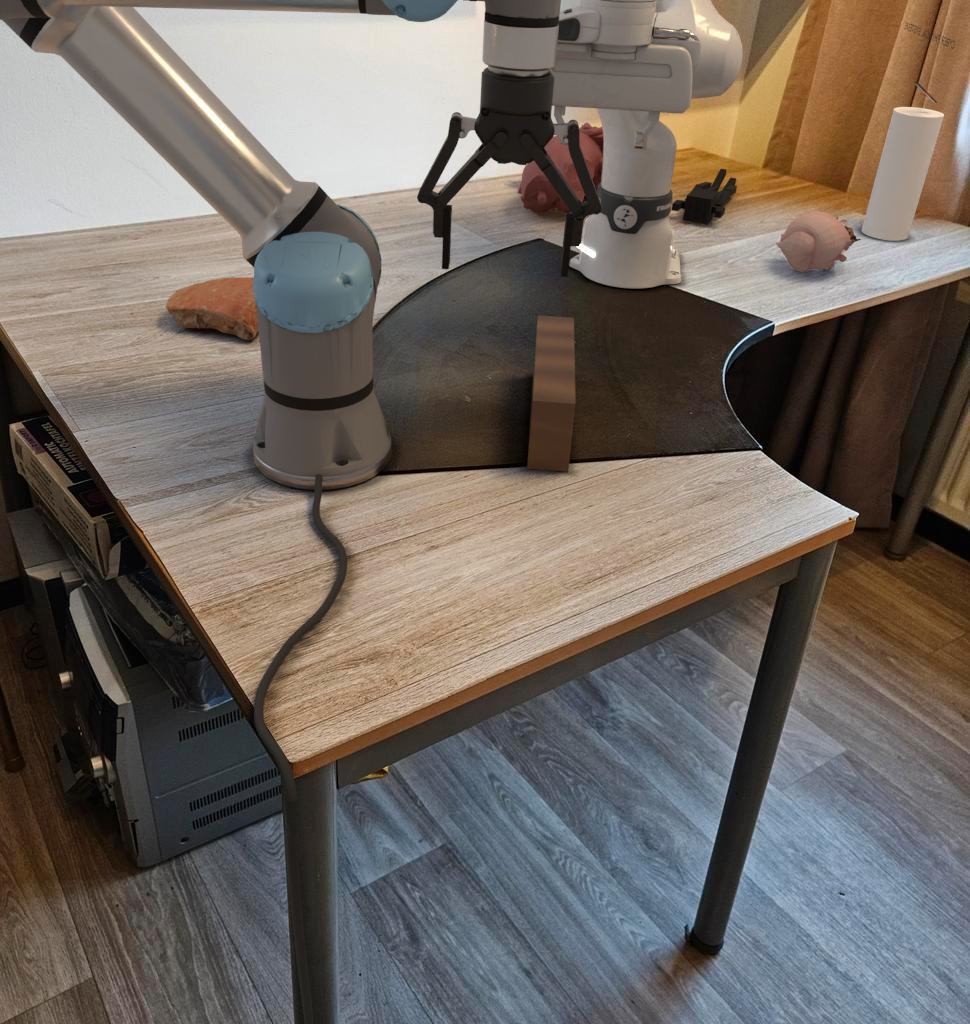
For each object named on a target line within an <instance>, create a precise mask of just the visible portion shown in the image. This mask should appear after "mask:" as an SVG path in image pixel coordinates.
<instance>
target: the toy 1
mask: <svg viewBox="0 0 970 1024" xmlns="http://www.w3.org/2000/svg"><path fill="white" fill-rule="evenodd" d="M727 171H728V170H727V169H726V168H720V169H719V171H718V173H717V175H716V177H715V178H714V180H713V182H710V181H704V182H700V183H697V184H695V185H694V187H693V188H692V190H691V191H690V192H688V193H687V195H686V197H685V198H684V200H683V199H676V200H674V201H673V202H672V205H671V211H673V212H680V210H683V216H682V221H683V222H687V223H693V224H699V225H706V226H707V225H709V223H711V221H712V220H713V218H716V219H722V217H723V216H724V215H725V212H726V204H727V203H728V201H729V199H730V198H731V197H732V196H734V195H735V194H736V193H737V188H738V185H736V182H737V177H732V176H731V177H730V178H729V179H728V180H727V182H726V183H725V185H724V187H723V188H722V190H719V189H720V188H721V186H722V184H723V181H724V180H725V178H726V176H727Z"/></svg>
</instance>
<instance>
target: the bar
mask: <svg viewBox="0 0 970 1024" xmlns="http://www.w3.org/2000/svg"><path fill="white" fill-rule="evenodd" d="M534 345H535V346H534V358H533V370H532V371H533V372H532V384H531V385H532V387H531V399H530V402H531V403H530V417H529V433H528V450H527V463H526V464H527V465H526V466H527V467H526V469H527V470H537V471H538V470H539V471H549V472H550V471H551V472H564V473H568V472H569V467H570V459H571V451H572V450H571V449H572V443H573V442H572V441H573V433H574V432H573V431H574V423H575V414H576V405H577V401H576V399H577V398H576V360H575V359H576V358H575V357H576V351H575V350H576V349H575V318H574V317H566V316H552V315H537V321H536V332H535V344H534Z"/></svg>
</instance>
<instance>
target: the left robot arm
mask: <svg viewBox="0 0 970 1024" xmlns="http://www.w3.org/2000/svg"><path fill="white" fill-rule="evenodd" d="M465 1H469V2H484V9H485V10H484V20H483V36H482V58H481V59H482V62H483V64H484V65H486V66H487V67H485V68H484V69H483V70H482V71H481V79H480V82H481V83H480V99H479V101H480V102H479V113H478V116H477V117H476V118H474V117H469V116H464V115H462V113H460V112H458V111H455V112H453V113H452V114H451V117H450V120H449V124H448V132H447V136H446V138H445V140H444V141H443V144H442V146H441V148H440V149H439V152H438V153H437V155H436V156H435V159H434V161H433V163H432V165H431V167H430V168H429V170H428V173H427V174H426V176H425V178H424V180H423V182H422V184H421V186H420V188H419V190H418V193H417V197H416V199H417V202H418V203H420V204H425V205H428V206H430V207H431V209H432V212H433V215H432V217H433V218H432V234H433V237H434V238H435V239H437V238H439V239H442V248H441V249H442V250H441V251H442V252H441V257H442V258H441V269H442V270H449V269H450V264H451V245H452V243H451V242H452V213H453V205H452V204H450V202H451V200H452V199H454V197H456V195H457V194H458V193H459V192H460V191H461V190H462V189H463V187H465V185H467V183H468V182H469V181H470V180H471V179H472V178H473V177H474V176H475V175H476V173H478V172H479V170H480V169H482V167H484V166H485V165H486V164H487V163H488V162H489V160H490V159H492V160H493V161H495V162H496V163H497V164H502V165H506V164H512V163H513V164H516V165H519V166H526V165H527V164H528V163H531V162H532V161H535V163H536V164H537V166H538V167H539V168H540V170H541V171H542V172H543V173H544V174H545V176H546V177H547V179H548V180H549V181H550V183H551V184H552V186H553V187H554V189H555V190H556V191H557V193H558V194H559V196H560V197H561V199H562V200H563V201H564V203H565V204H566V206H567V207H568V209H569V210H570V211H571V212H570V213H565V217H564V227H563V238H562V248H561V259H560V268H559V271H560V278H568V276H569V267H570V266H569V264H570V260H571V258H570V257H571V248H572V247H575V248H577V247H579V246H580V244H582V237H583V230H584V223H585V220H586V218H588V217H589V216H590V215H592V214H595V215H597V214H599V213H600V212H601V210H602V208H601V203H600V199H599V197H598V194H597V191H596V188H595V186H594V183H593V180H592V177H591V174H590V172H589V169H588V166H587V163H586V161H585V158H584V155H583V152H582V150H581V147H580V134H579V128H580V125H579V122H578V121H577V120H576V119H570V120H569V121H568V122H565V123H554V122H553V120H552V108H553V106H552V99H553V87H554V76H553V74H552V73H551V72H550V71H549V70H550V69H552V68H553V67H554V66H555V65H556V53H557V42H558V31H559V15H560V12H561V3H562V0H464V2H465ZM457 2H458V0H0V21H2V22H4V23H5V25H6V26H7V27H8V28H9V29H10V30H11V31H12V32H14V34H15V35H16V36H17V37H19V38H20V39H21V40H22V41H23V43H25V44H26V45H27V47H29V48H30V49H31V50H32V51H33V52H35V53H41V54H52V55H56V56H58V57H61V58H62V59H63V60H64V61H65V62H66V63H67V64H68V65H69V66H70V67H71V68H72V69H73V70H74V71H75V72H76V74H78V75H79V76H80V78H82V79H83V80H84V81H85V82H86V83H87V84H88V85H89V86H90V87H91V88H92V89H93V91H95V92H96V93H97V94H98V95H99V96H100V97H101V98H102V99H103V100H104V101H105V102H106V103H107V104H108V105H109V106H110V107H111V108H112V109H113V110H114V111H115V112H116V113H117V114H118V115H119V116H120V117H121V118H122V119H123V120H124V121H125V122H126V123H127V124H128V125H129V126H130V127H131V128H132V129H133V130H134V131H135V132H136V133H137V134H138V135H139V136H140V137H141V138H142V139H143V140H144V141H145V142H146V143H147V144H148V145H149V146H150V147H151V148H152V149H153V150H154V151H155V152H156V153H157V154H158V155H159V156H160V157H161V158H162V159H163V160H164V161H165V162H166V163H168V165H169V166H170V167H171V168H172V169H173V170H174V171H175V172H176V173H177V174H178V175H179V176H180V177H182V179H183V180H184V181H185V182H187V184H188V185H190V187H191V188H192V189H193V190H194V191H196V193H197V194H198V195H200V196H201V197H202V199H204V201H206V202H207V203H208V204H209V205H210V207H211V208H212V209H214V211H216V212H217V213H218V215H219V216H221V218H222V219H224V220H225V221H226V223H227V224H229V225H230V226H231V227H232V228H233V229H234V231H236V232H237V233H238V234H239V237H240V239H241V251H242V257H243V259H244V260H245V261H246V262H248V263H249V265H250V266H251V267H252V268H253V277H252V278H253V293H254V298H255V301H256V308H257V318H258V328H259V332H258V337H259V348H260V357H261V358H260V359H261V368H262V379H263V388H264V390H263V391H264V396H263V400H262V404H261V408H260V412H259V415H258V419H257V423H256V427H255V430H254V434H253V439H252V455H253V460H254V464H255V467H256V468H257V470H258V471H259V472H260V473H261V474H262V475H263V476H265V477H266V478H268V479H269V480H271V481H273V482H275V483H278V484H280V485H283V486H286V487H290V488H295V489H301V490H312V491H313V492H314V493H313V501H312V508H311V515H312V519H313V523H314V525H315V526H316V528H317V530H318V531H319V532H320V533H321V534H322V535H323V537H324V538H325V539H327V541H329V543H330V544H332V546H333V547H334V548H335V550H336V552H337V555H338V562H339V563H338V564H339V565H338V571H337V576H336V578H335V581H334V583H333V584H332V587H331V589H330V591H329V592H328V593H327V595H326V597H325V599H324V600H323V602H322V604H321V605H320V607H318V609H317V610H316V611H315V612H314V614H312V615H311V616H310V617H309V618H308V619H307V620H306V621H305V622H304V623H303V624H302V625H300V627H298V628H297V629H296V630H295V631H294V632H293V633H292V634H291V635H290V636H289V637H288V638H287V640H286V641H285V642H284V644H282V646H281V647H280V649H279V650H278V652H277V653H276V655H275V656H274V658H273V659H272V661H271V662H270V664H269V665H268V667H267V669H266V670H265V672H264V674H263V676H262V678H261V680H260V682H259V684H258V687H257V690H256V693H255V697H254V703H253V722H254V727H255V729H256V732H257V734H258V737H259V738H260V740H261V741H262V742H263V744H264V745H265V747H266V748H267V750H268V751H269V753H270V754H271V755H272V757H273V759H274V760H275V762H276V763H277V767H278V769H279V771H280V774H281V777H282V781H283V785H284V789H285V795H286V799H287V801H288V802H295V801H296V800H297V799H298V792H297V791H298V790H297V786H296V782H295V777H294V773H293V770H292V767H291V765H290V762H289V760H288V758H287V755H286V754H285V752H284V751H283V749H282V748H281V746H280V745H279V744H278V742H277V741H276V740H275V738H274V737H273V736H272V734H271V733H270V731H269V729H268V728H267V724H266V721H265V716H264V707H265V701H266V695H267V692H268V689H269V687H270V685H271V682H272V681H273V679H274V677H275V675H277V674H276V673H277V672H278V671H279V669H280V668H281V665H282V664H283V662H284V661H285V659H286V658H287V656H288V654H289V653H290V652H291V650H292V649H293V648H294V646H295V645H296V644H297V643H298V642H299V641H300V640H301V639H302V638H303V637H304V636H305V635H306V634H307V633H309V631H310V630H311V629H313V627H315V626H316V624H318V623H319V622H320V621H321V620H322V619H323V618H324V616H326V614H327V613H328V611H329V610H330V609H331V607H332V606H333V604H334V603H335V601H336V599H337V597H338V595H339V593H340V592H341V590H342V588H343V585H344V583H345V580H346V578H347V577H346V576H347V570H348V556H347V552H346V548H345V546H344V545H343V543H342V542H341V541H340V540H339V538H337V537H336V536H335V534H333V532H332V531H330V529H328V528H327V526H326V525H325V523H324V521H323V520H322V517H321V513H320V509H321V503H322V502H321V501H322V492H323V490H327V491H328V490H337V489H342V488H348V487H351V486H355V485H358V484H361V483H363V482H366V481H368V480H370V479H373V478H374V477H375V476H377V475H378V474H380V473H381V472H382V471H383V470H384V469H385V468H386V467H387V466H388V464H389V463H390V461H391V458H392V437H391V432H392V433H394V422H393V417H392V415H391V411H390V408H389V406H387V418H388V422H389V425H390V429H391V432H390V430H389V427H388V424H387V422H386V419H385V417H384V413H383V411H382V408H381V406H380V403H379V400H378V398H377V395H376V393H375V385H374V341H373V340H374V339H373V338H374V336H373V333H374V332H373V330H374V329H373V328H374V326H373V324H374V313H375V306H376V300H377V294H378V288H379V284H380V281H381V277H382V264H383V263H382V254H381V250H380V249H381V248H380V246H379V241H378V239H377V236H376V235H375V232H374V230H373V229H372V228H371V226H370V224H369V223H368V222H367V221H366V220H365V218H363V216H361V215H360V214H359V213H358V212H356V211H355V210H353V209H352V208H350V207H347V206H345V205H342V204H337V203H336V202H335V201H334V200H333V199H332V197H330V195H328V194H327V192H326V191H325V190H324V189H323V188H322V187H321V186H320V185H319V184H318V183H317V182H316V181H301V180H300V181H299V180H297V179H295V178H294V177H293V176H292V175H291V173H289V172H288V171H287V170H286V168H285V167H284V166H283V165H282V164H281V163H280V162H279V161H278V160H277V159H276V158H275V157H274V156H273V155H272V154H271V152H270V151H269V150H267V148H266V147H265V146H264V145H263V144H262V143H261V141H259V140H258V139H257V137H255V136H254V135H253V134H252V132H251V131H250V130H249V129H248V127H246V126H245V125H244V124H243V123H242V121H241V120H240V119H238V117H237V116H236V115H235V114H234V113H233V112H232V111H231V110H230V109H229V108H228V107H227V106H226V105H225V103H224V102H223V101H222V100H221V99H220V98H219V97H218V96H217V95H216V94H215V93H214V91H213V90H211V89H210V88H209V86H208V85H207V84H206V83H205V82H204V81H203V80H202V79H201V78H200V76H198V75H197V73H196V72H195V71H194V70H193V69H192V68H191V67H190V66H189V64H187V63H186V62H185V61H184V60H183V58H181V57H180V55H178V53H177V52H176V51H175V50H174V49H173V48H172V47H171V46H170V45H169V44H168V42H166V41H165V39H164V38H163V37H162V36H161V35H160V34H159V33H158V32H157V31H156V30H155V28H154V27H152V25H151V24H150V23H149V22H148V21H147V20H146V19H145V18H144V17H143V16H142V15H141V14H140V13H139V11H137V9H136V8H147V9H148V8H149V9H150V8H153V9H160V8H161V9H186V10H187V9H188V10H190V9H191V10H221V11H222V10H225V11H258V12H290V13H291V12H294V13H295V12H296V13H297V12H299V13H326V14H327V13H331V14H333V13H334V14H362V15H372V16H375V15H376V16H396V17H398V18H401V19H404V20H405V21H407V22H414V23H426V22H431V21H435V20H437V19H439V18H440V17H442V16H444V15H446V14H447V13H448V12H449V11H450V9H451V8H452V7H453V6H454V5H455V4H456V3H457ZM470 131H474V132H475V134H476V136H477V137H478V139H479V142H481V144H480V146H478V148H477V149H476V150H475V152H474V153H473V154H472V155H471V156H470V157H469V158H468V160H467V161H466V162H464V164H463V165H462V166H461V167H460V168H459V170H457V171H456V173H454V175H453V176H452V177H451V178H450V179H449V180H448V181H447V182H446V183H445V185H444V186H443V187H442V188H440V190H439V191H438V192H436V191H434V190H435V187H436V186H437V184H438V182H439V180H440V179H441V176H442V174H443V172H444V170H445V169H446V167H447V165H448V163H449V161H450V159H451V158H452V155H453V154H454V152H455V150H456V148H457V146H458V143H459V140H460V139H465V138H466V137H468V134H469V132H470ZM553 136H558V137H559V138H560V141H561V143H562V144H563V145H568V148H569V153H570V156H571V159H572V161H573V164H574V167H575V169H576V172H577V175H578V177H579V180H580V183H581V186H582V188H583V191H584V194H585V195H584V197H585V199H586V200H585V201H583V202H581V201H580V200H579V198H578V197H577V195H576V194H575V193H574V191H573V190H572V188H571V187H570V185H569V184H568V182H567V181H566V180H565V178H564V177H563V175H562V174H561V172H560V171H559V169H558V168H557V167H556V165H555V164H554V162H553V161H552V159H551V157H550V156H549V154H548V152H547V151H546V150H545V148H544V147H545V146H546V145H547V144H548V143H549V141H550V140H551V139H552V138H553ZM286 832H287V833H286V852H287V853H286V854H287V867H288V869H287V870H288V881H289V893H290V894H289V895H290V905H291V917H292V928H293V937H294V945H295V955H296V965H297V972H298V980H299V988H300V989H299V990H300V997H301V1005H302V1013H303V1023H304V1024H315V1023H314V1014H313V1003H312V995H311V987H310V977H309V967H308V959H307V949H306V939H305V930H304V918H303V917H304V916H303V906H302V905H303V904H302V893H301V880H300V865H299V849H298V846H299V844H298V843H299V841H298V840H299V827H298V826H295V825H294V824H293V825H292V824H289V823H287V831H286Z"/></svg>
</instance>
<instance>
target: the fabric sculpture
mask: <svg viewBox="0 0 970 1024" xmlns="http://www.w3.org/2000/svg"><path fill="white" fill-rule="evenodd" d="M579 134H580V147H581V150H582V152H583V155H584V158H585V161H586V163H587V166H588V169H589V172H590V174H591V177H592V180H593V183H594V186H595V188H596V191H597V190H598V185H599V184H600V183H601V178H602V167H603V145H604V138H603V128H602V126H600V127H598V126H592V125H591V124H590V123H589V122H585V123H584V124H581V126H579ZM544 148H545V150H546V151H547V152H548V154H549V156H550V157H551V159H552V161H553V162H554V164H555V165H556V167H557V168H558V169H559V171H560V172H561V174H562V175H563V177H564V178H565V180H566V181H567V182H568V184H569V185H570V187H571V188H572V190H573V191H574V193H575V194H576V195H577V197H578V198H579V200H580V201H581V202H584V199H585V194H584V191H583V188H582V186H581V183H580V180H579V177H578V175H577V172H576V169H575V167H574V164H573V161H572V159H571V156H570V153H569V148H568V145H563V144H560V138H559V137H558V136H556V135H554V136H553V138H552V139H551V140H550V141H549V143H548V144H547V145H546V146H545V147H544ZM521 173H522V174H521V180H520V181H521V182H520V185H519V186H518V189H517V194H518V195H520V200H521V202H522V203H523V207H524V209H525V210H529V211H530V212H532V213H535V214H546V213H549V212H551V211H552V210H553V209H554V208H555V209H556V210H557V211H559V212H560V213H564V214H566V213H571V211H570V210H569V209H568V207H567V206H566V204H565V203H564V201H563V200H562V199H561V197H560V196H559V194H558V193H557V191H556V190H555V189H554V187H553V186H552V184H551V183H550V181H549V180H548V179H547V177H546V176H545V174H544V173H543V172H542V171H541V170H540V168H539V167H538V166H537V164H536V163H535V161H532V162H531V163H528V164H526V165H524V168H523V170H522V172H521Z"/></svg>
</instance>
